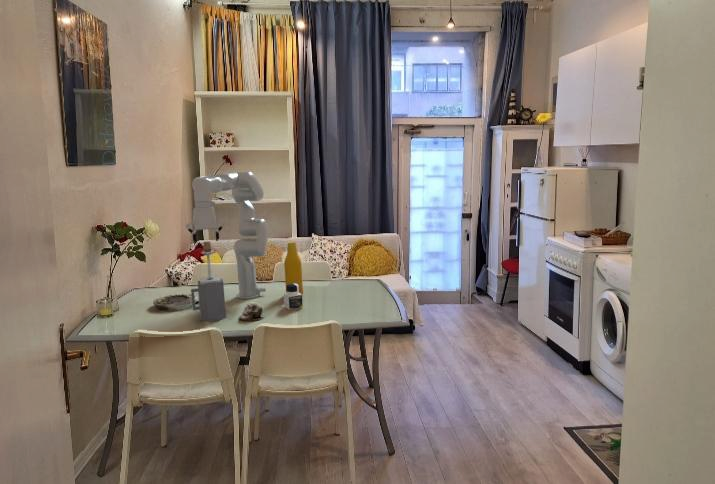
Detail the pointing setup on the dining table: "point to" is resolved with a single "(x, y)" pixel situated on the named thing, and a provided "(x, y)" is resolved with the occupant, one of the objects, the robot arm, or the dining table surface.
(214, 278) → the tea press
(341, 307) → the dining table surface
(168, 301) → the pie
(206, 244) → the plunger
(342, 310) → the dining table surface
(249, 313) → the skull
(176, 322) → the dining table surface
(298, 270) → the beer bottle
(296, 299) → the medicine bottle
